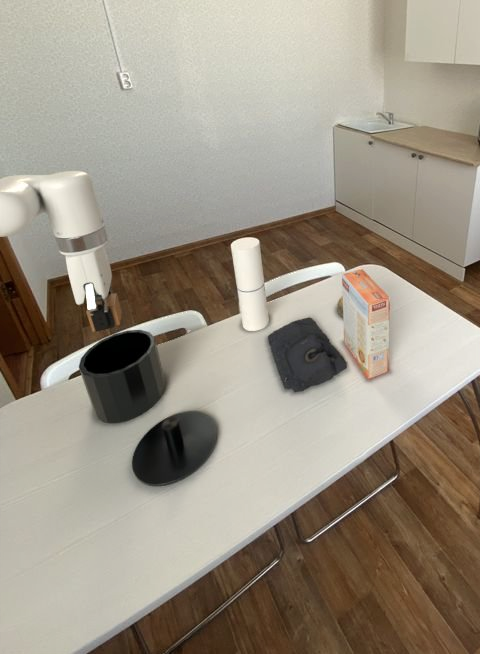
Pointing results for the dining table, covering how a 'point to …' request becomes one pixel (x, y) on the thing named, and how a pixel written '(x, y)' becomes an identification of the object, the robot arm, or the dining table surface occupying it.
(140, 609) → the dining table surface
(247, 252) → the cylindrical container
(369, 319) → the cracker box
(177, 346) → the dining table surface
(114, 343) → the trash can
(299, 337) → the black fabric pouch
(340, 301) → the cake
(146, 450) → the bin lid
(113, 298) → the cube
